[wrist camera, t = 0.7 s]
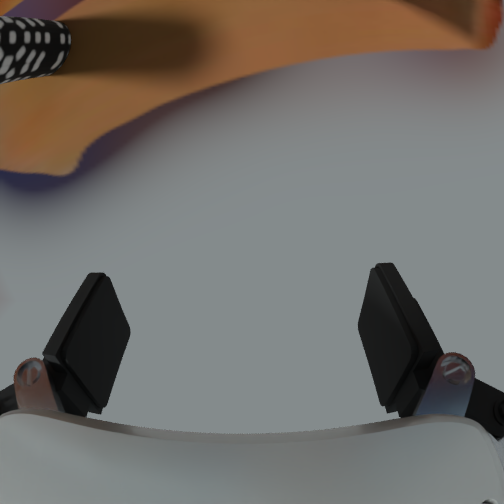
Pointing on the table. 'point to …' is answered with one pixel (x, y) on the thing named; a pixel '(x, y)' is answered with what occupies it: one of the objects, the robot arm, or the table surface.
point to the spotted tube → (31, 47)
